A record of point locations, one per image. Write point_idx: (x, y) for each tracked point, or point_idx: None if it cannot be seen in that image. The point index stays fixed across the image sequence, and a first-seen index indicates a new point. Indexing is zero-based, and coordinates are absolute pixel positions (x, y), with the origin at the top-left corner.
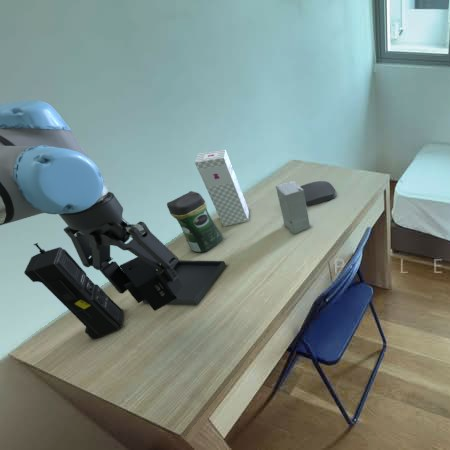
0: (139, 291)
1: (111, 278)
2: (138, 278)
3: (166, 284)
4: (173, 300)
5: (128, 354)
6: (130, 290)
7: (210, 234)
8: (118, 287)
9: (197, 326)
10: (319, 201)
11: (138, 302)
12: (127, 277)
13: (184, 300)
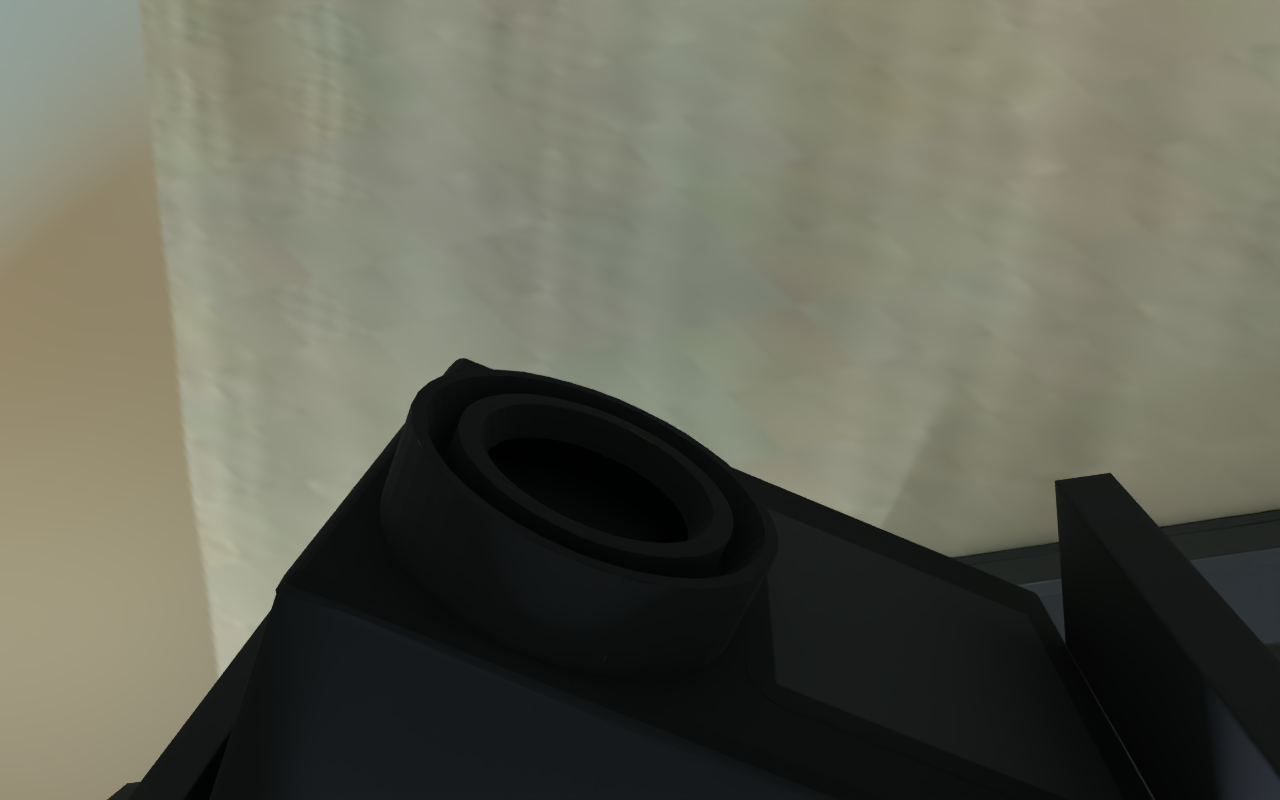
0: (325, 525)
1: (1192, 668)
2: (489, 758)
3: (190, 723)
4: (1057, 570)
5: (1058, 68)
6: (440, 506)
7: None
8: (1100, 544)
9: (693, 411)
10: None
11: (473, 375)
12: (1113, 726)
13: None
